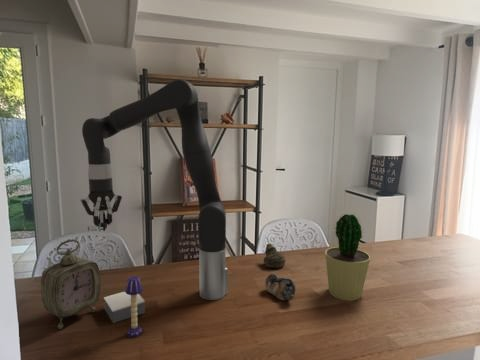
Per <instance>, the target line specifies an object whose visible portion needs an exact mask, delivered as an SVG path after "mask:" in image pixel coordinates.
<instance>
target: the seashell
mask: <svg viewBox="0 0 480 360" xmlns="http://www.w3.org/2000/svg"><path fill="white" fill-rule="evenodd" d="M264 254H265V256H264V258H263V263H264V265H265V266H266V267H268V268H270V269H281V268H283V267H284V266H285V263H286V259H285V254H284V253H282V252H281V251H278V250H277V248H276V247H275V246H274V245H273V244H271V243H267V244H266V247H265V251H264Z"/></svg>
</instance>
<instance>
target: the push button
mask: <svg viewBox="0 0 480 360" xmlns="http://www.w3.org/2000/svg"><path fill="white" fill-rule="evenodd" d="M93 207H95V205H94V204H93V206H92V208H93ZM105 211H106V212H107V205H106V206H104V205H102V206H100V207H99V211H98V217H99V226H97V230H98V231H99V232H105V231H106V230H108V224H107V215H106V212H105Z"/></svg>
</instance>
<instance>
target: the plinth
mask: <svg viewBox="0 0 480 360" xmlns="http://www.w3.org/2000/svg"><path fill="white" fill-rule="evenodd" d="M136 297H137V314H138V315H137V316H139V315H142V314H145V313H146V301H145V299H144V298H143V297H142V295H140V293H139V294H137V296H136ZM103 307H104V311H105V312H106V314H107V315H108V317H109V319H110V321H111V322H112V324H114V323H117V322H121V321H124V320H127V319H131V295H128V294H126V292H125V291H122V292H117V293H115V294H111V295H107V296H104V297H103Z"/></svg>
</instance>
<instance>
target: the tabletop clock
mask: <svg viewBox="0 0 480 360" xmlns="http://www.w3.org/2000/svg"><path fill="white" fill-rule="evenodd" d="M73 242H75V243H77V247H75V248H74V249H71V248H68V249H66V251H65V252H59V249H60V248H61V247H62V246H63V245H65V244H68V243H73ZM79 248H80V242H79V240H77V239H68V240H67V239H66V240H65V241H62V242H61V243H59V245H58V246H57V248H56V252H57V254H58V255H60V256H62V257H61V258H60V260H59V262H57V263H55V264H53V265H50V266H48V267H47V268H45V269H44V270H43V271H42V274H41V277H40V278H41V281H40V292H41V293H40V295H41V300H42V304H43V307H44V309H45V310H46V312H49V313H51V314H52V315H54V316H56V317H58V318H59V323H58V324H57V327H56V328H57V329H58V330H62V329H63V328H64V324H63V319H64V318H68V317H70V316H73V315H75V314H78V313H80V312H82V311H84V310H86V309H88V308H89V309H90V312H91V313H95V312H96V310H97V308H96V307H95V306H93V305H94V304H96V302H97V301H99V298H100V296H101V275H100V268H99V265H98V263H97V261H96V262H95V261H92V260H89V259H87V258H83V257H78V256H77V255H76V254H74V253H75V252H76V251H77V250H78V249H79Z"/></svg>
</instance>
